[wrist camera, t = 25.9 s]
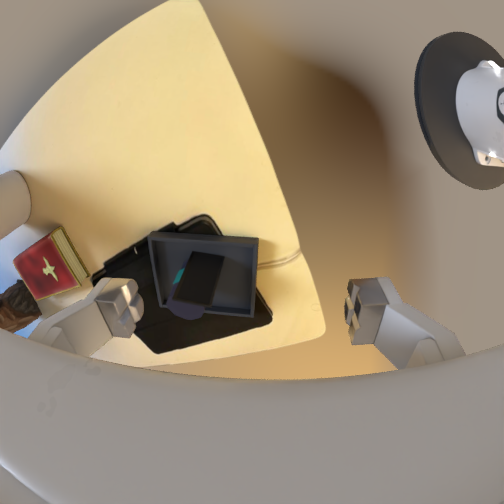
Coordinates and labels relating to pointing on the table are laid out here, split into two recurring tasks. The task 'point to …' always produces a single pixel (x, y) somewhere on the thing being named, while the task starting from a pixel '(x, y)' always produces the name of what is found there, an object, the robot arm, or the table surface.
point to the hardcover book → (51, 266)
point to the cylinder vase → (13, 202)
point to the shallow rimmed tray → (231, 277)
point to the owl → (17, 307)
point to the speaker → (195, 285)
